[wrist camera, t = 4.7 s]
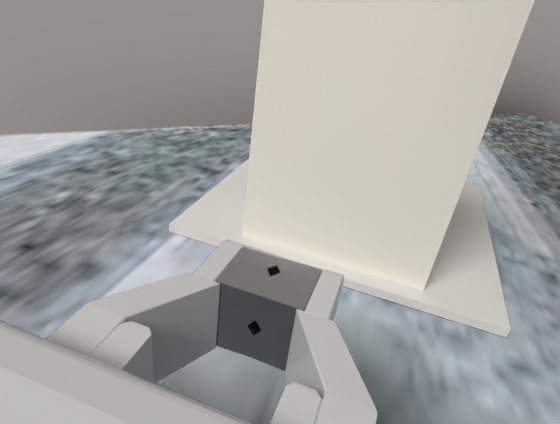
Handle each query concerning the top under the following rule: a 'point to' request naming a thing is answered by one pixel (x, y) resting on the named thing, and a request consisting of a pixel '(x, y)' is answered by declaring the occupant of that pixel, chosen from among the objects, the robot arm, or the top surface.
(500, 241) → the top surface
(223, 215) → the mat
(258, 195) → the tile
